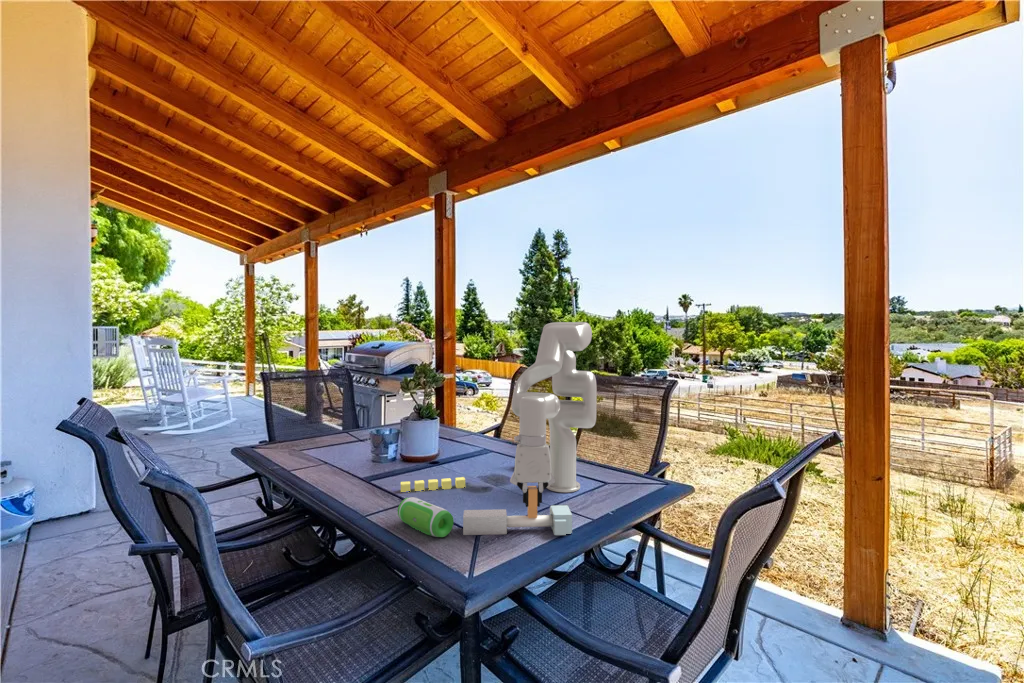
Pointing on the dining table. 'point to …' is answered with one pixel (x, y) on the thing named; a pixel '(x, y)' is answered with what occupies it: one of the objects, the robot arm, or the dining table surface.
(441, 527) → the speaker
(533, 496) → the hammer
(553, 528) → the socket block
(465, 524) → the grey concrete brick
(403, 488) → the yellow cubes
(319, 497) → the dining table surface
